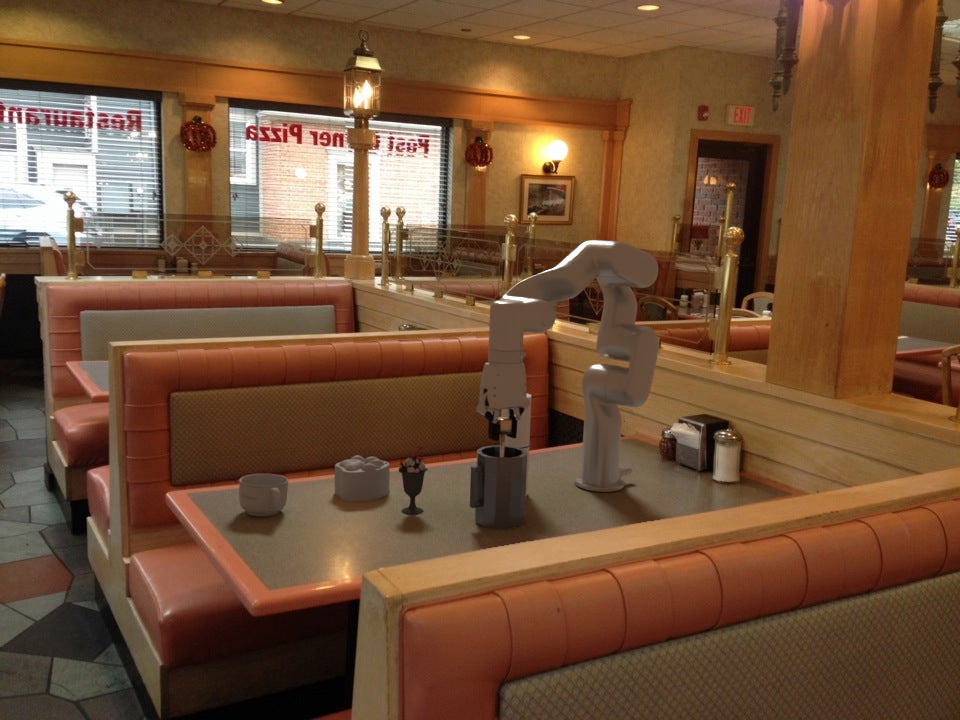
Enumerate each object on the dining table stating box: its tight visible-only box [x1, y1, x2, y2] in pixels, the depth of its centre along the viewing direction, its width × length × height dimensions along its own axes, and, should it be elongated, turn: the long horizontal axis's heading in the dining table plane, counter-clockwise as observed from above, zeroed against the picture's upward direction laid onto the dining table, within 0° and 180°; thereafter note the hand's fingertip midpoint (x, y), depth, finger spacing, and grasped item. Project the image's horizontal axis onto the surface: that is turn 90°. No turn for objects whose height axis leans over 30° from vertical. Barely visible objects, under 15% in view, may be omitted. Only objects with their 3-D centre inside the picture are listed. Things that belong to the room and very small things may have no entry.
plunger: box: [497, 416, 512, 458], centre depth 195 cm, size 8×8×21 cm
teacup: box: [238, 473, 290, 517], centre depth 195 cm, size 14×11×8 cm
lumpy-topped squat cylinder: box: [334, 454, 391, 503], centre depth 212 cm, size 10×13×9 cm
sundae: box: [398, 446, 428, 515], centre depth 200 cm, size 7×7×15 cm
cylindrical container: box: [500, 393, 532, 497], centre depth 214 cm, size 7×7×25 cm
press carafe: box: [469, 444, 527, 530], centre depth 195 cm, size 13×11×16 cm
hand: (502, 437), depth 194 cm, fingers closed on plunger, 4 cm apart
